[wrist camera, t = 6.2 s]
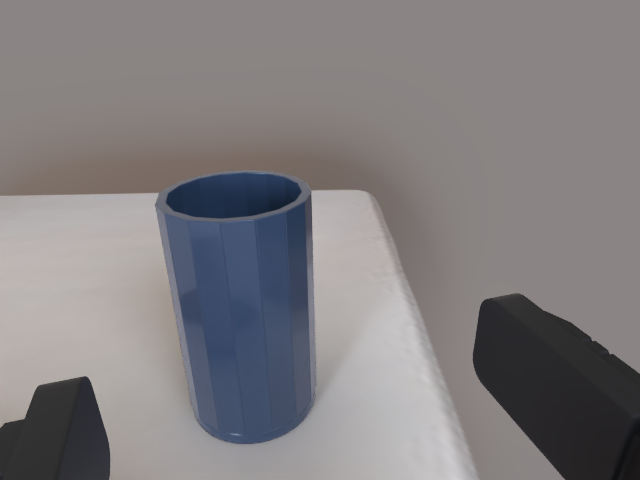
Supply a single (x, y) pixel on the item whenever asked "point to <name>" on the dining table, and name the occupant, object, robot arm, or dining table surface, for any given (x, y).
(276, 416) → the pen holder
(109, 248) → the dining table surface
